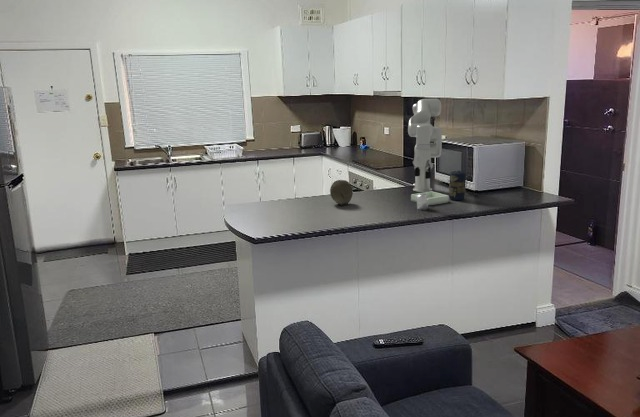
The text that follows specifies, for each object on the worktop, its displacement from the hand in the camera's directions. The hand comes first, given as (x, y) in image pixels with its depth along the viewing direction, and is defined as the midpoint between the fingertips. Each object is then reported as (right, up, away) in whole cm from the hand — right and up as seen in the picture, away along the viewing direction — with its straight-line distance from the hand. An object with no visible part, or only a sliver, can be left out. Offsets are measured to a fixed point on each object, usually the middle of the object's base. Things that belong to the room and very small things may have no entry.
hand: (422, 177), depth 295 cm
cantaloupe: (-45, -15, +21) cm, 52 cm away
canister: (+26, -12, +24) cm, 38 cm away
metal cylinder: (+1, -18, +4) cm, 18 cm away
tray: (+9, -13, +21) cm, 27 cm away
